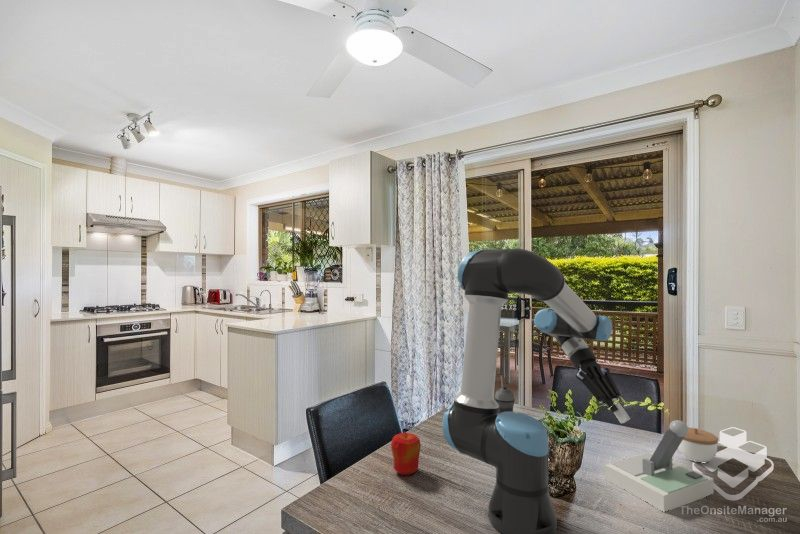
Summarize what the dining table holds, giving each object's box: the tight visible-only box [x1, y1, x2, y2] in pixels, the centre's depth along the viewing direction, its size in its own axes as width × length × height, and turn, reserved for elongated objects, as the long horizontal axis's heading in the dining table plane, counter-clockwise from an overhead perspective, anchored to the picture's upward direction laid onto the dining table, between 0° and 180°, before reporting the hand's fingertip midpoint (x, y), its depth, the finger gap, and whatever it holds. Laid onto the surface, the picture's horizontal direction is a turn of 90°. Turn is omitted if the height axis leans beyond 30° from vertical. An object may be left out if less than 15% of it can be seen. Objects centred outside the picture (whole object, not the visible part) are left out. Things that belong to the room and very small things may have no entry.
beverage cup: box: [494, 375, 516, 414], centre depth 140 cm, size 7×7×20 cm
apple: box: [390, 430, 422, 476], centre depth 111 cm, size 9×8×12 cm
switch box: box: [604, 452, 715, 513], centre depth 103 cm, size 16×20×8 cm
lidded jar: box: [677, 427, 719, 463], centre depth 119 cm, size 11×11×9 cm
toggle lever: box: [650, 419, 689, 471], centre depth 101 cm, size 4×5×16 cm
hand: (625, 421), depth 112 cm, fingers closed
